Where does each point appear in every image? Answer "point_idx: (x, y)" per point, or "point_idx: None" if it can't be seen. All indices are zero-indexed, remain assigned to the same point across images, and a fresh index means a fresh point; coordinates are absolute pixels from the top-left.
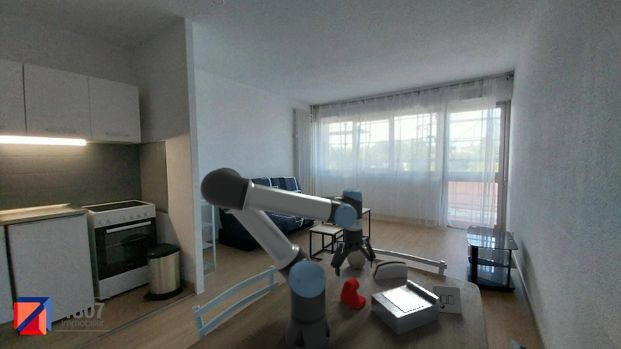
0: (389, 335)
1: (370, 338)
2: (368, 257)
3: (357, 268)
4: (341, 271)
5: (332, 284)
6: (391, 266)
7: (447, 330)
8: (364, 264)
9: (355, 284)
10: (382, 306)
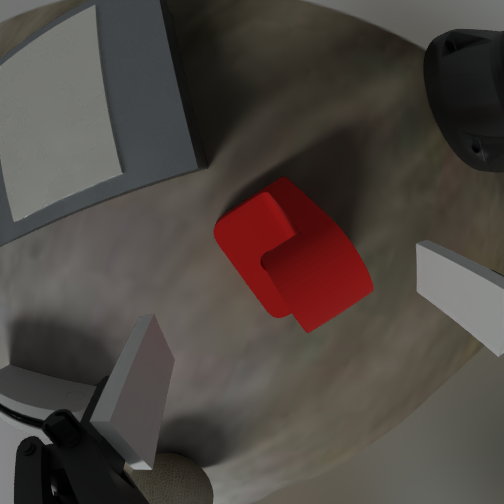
0: (204, 13)
1: (289, 14)
2: (100, 475)
3: (175, 454)
4: (496, 280)
5: (319, 386)
6: (27, 402)
7: None
8: None
9: (305, 249)
10: (174, 64)
